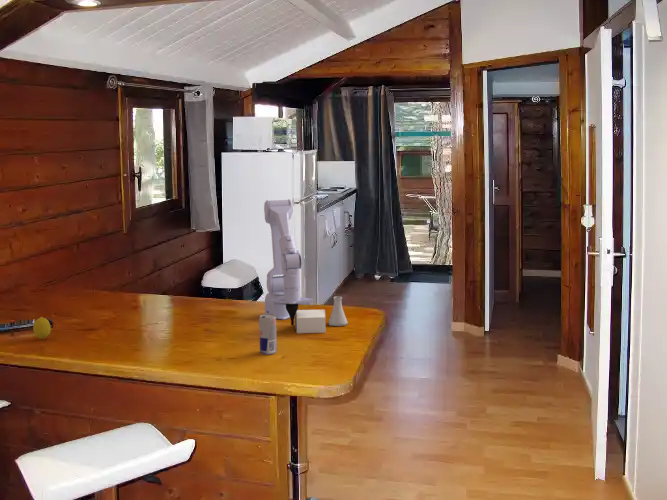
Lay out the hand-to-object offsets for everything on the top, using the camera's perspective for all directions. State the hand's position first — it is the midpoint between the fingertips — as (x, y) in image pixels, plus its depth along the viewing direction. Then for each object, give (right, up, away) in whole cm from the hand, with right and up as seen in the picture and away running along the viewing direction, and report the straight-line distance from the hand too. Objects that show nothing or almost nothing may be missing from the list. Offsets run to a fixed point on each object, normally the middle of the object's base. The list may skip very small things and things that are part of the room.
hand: (292, 324), depth 266 cm
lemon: (-85, -4, -8) cm, 86 cm away
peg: (+5, -1, 0) cm, 5 cm away
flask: (+16, -1, +6) cm, 17 cm away
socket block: (+7, -1, +1) cm, 7 cm away
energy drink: (-6, -6, -26) cm, 28 cm away
